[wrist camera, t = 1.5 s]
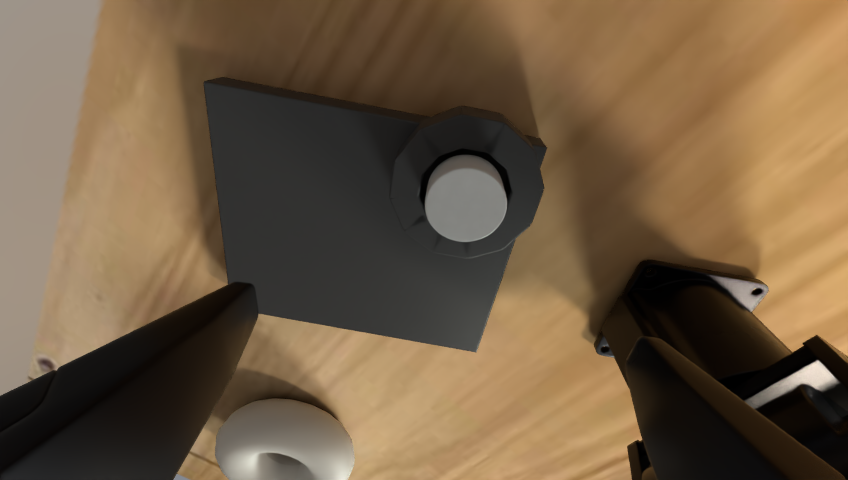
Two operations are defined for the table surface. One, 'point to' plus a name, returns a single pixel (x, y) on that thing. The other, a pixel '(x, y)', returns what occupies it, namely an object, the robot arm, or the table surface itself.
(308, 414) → the donut
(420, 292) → the scale
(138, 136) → the table surface
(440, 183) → the button
